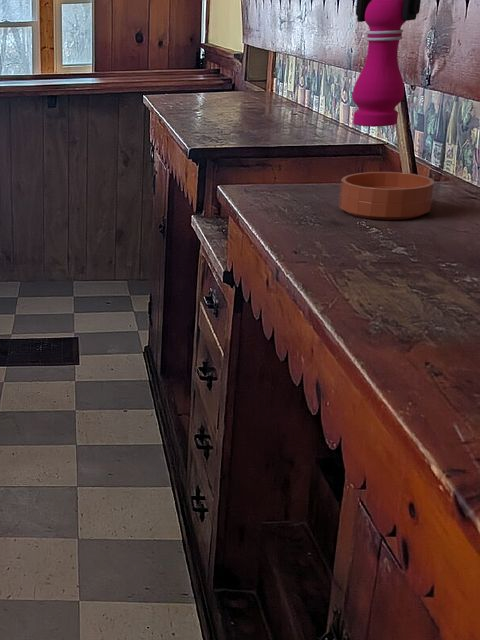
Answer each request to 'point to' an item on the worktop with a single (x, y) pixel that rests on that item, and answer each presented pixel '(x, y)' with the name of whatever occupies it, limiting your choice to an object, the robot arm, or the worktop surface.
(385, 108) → the pepper mill
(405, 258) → the worktop surface
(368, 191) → the bowl
